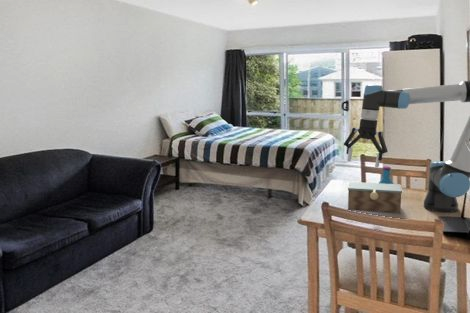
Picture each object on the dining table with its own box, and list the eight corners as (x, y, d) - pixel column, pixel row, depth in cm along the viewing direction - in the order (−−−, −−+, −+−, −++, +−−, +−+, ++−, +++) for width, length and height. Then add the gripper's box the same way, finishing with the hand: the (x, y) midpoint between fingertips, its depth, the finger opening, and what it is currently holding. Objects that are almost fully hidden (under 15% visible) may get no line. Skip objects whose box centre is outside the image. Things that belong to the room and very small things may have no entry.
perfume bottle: (397, 193, 224) (399, 167, 221) (387, 196, 218) (388, 169, 216) (383, 190, 231) (384, 164, 228) (373, 193, 226) (374, 166, 223)
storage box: (399, 205, 202) (399, 186, 201) (400, 213, 191) (401, 193, 189) (349, 202, 210) (350, 184, 208) (348, 209, 199) (348, 190, 197)
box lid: (400, 188, 201) (400, 181, 200) (403, 202, 179) (403, 194, 179) (349, 186, 209) (349, 179, 208) (346, 198, 187) (346, 191, 187)
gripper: (340, 115, 189) (334, 159, 193) (393, 123, 173) (386, 170, 178) (347, 115, 195) (341, 157, 199) (399, 122, 179) (392, 168, 184)
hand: (362, 164), depth 189 cm, fingers open, 13 cm apart
